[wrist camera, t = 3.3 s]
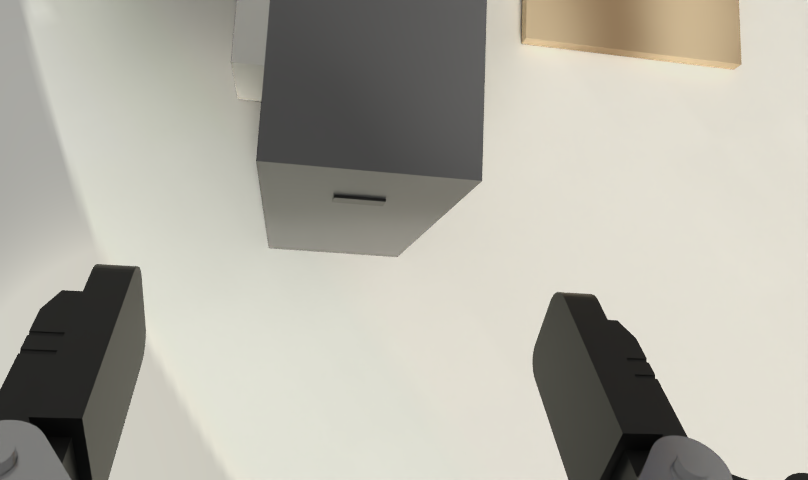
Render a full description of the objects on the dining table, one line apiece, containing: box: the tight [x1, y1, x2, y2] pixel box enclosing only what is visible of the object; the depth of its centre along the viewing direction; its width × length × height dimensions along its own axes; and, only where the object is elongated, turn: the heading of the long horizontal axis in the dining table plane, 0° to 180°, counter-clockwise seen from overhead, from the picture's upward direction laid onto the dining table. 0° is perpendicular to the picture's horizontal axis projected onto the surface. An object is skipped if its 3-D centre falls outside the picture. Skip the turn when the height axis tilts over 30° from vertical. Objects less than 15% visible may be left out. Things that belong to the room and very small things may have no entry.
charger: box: [256, 0, 487, 257], centre depth 20 cm, size 4×7×11 cm
